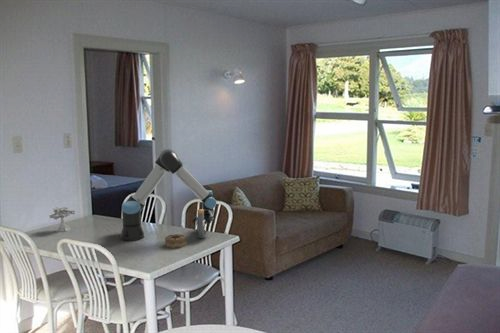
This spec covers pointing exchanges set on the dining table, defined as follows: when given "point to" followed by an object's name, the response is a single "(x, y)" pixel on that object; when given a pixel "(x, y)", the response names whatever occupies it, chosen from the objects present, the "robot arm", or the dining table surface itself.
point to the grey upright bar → (200, 223)
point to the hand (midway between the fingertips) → (199, 224)
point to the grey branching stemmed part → (62, 214)
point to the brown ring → (175, 241)
